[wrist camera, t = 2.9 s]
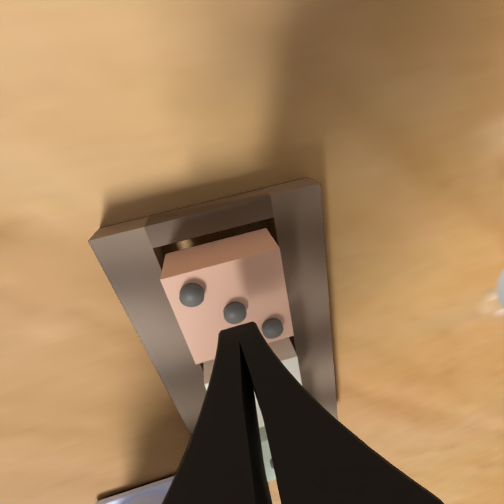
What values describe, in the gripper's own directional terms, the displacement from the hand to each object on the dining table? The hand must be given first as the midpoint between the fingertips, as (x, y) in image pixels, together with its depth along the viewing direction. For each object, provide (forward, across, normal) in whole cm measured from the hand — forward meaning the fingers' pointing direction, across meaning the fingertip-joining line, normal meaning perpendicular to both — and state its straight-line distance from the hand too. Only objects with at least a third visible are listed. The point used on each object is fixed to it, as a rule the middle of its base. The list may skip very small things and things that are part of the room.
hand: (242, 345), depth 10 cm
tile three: (+5, 0, 0) cm, 5 cm away
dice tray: (+6, 0, +7) cm, 9 cm away
